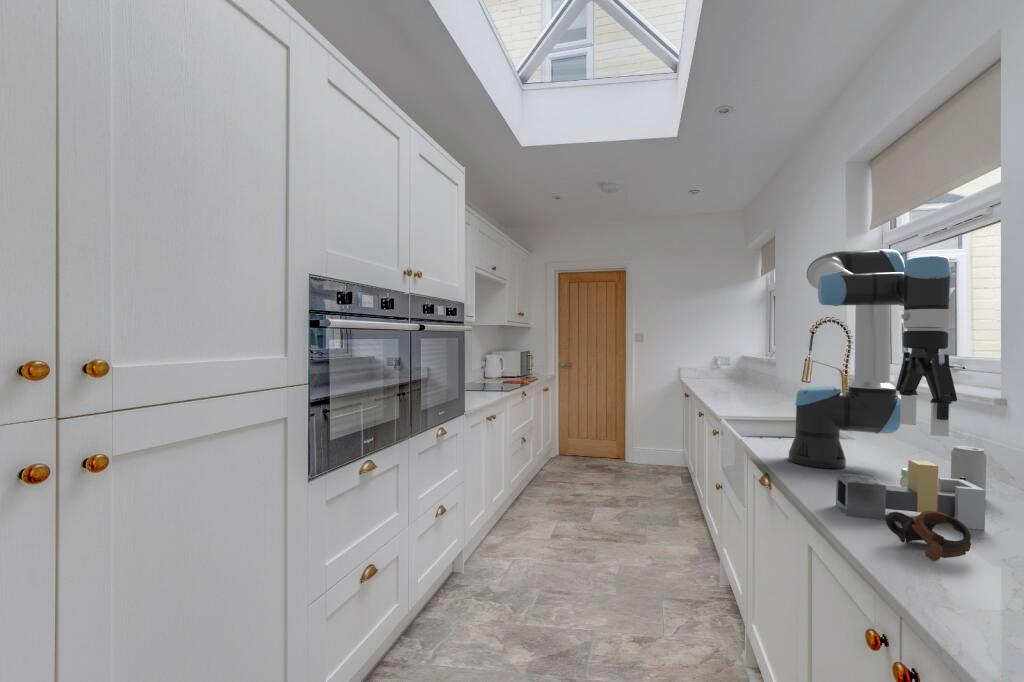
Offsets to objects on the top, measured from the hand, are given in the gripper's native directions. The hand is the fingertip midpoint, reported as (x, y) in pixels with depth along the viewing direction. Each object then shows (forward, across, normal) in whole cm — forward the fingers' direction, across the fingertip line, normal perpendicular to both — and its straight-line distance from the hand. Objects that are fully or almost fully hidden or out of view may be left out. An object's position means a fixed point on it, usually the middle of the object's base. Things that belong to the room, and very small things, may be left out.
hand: (922, 429), depth 109 cm
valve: (+19, -16, +9) cm, 26 cm away
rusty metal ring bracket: (+19, +20, -8) cm, 29 cm away
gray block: (+19, 0, -12) cm, 22 cm away
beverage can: (+19, -22, +18) cm, 34 cm away
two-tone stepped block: (+17, 0, -2) cm, 17 cm away
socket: (+19, 0, +7) cm, 20 cm away
